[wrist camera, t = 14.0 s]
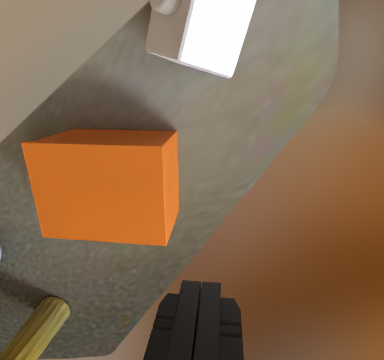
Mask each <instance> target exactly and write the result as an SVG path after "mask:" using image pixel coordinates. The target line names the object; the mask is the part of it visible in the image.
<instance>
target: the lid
mask: <svg viewBox="0 0 384 360" xmlns="http://www.w3.org/2000/svg"><path fill="white" fill-rule="evenodd" d="M21 145H22V149H23V153H24V158H25V162H26V166H27V171H28V175H29V179H30V183H31V188H32V192H33V196H34V201H35V205H36V209H37V214H38V218H39V222H40V227H41V231H42V235H43V237H47V238H61V239H75V240H89V241H103V242H117V243H131V244H145V245H159V246H166V245H167V217H166V192H165V168H164V145H151V144H113V143H75V142H38V141H25V142H21Z"/></svg>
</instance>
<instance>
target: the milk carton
mask: <svg viewBox="0 0 384 360" xmlns="http://www.w3.org/2000/svg"><path fill="white" fill-rule="evenodd" d="M149 1H150V5H151V7H152V11H151V17H150V22H149V27H148V33H147V38H146V44H145V51H146V52H149V53H151V54H154V55H157V56H159V57H162V58H165V59H167V60H170V61H172V62H175V63H178V64H181V65H184V66H188V67H191V68H194V69H198V70H201V71H204V72H208V73H211V74H214V75H218V76H221V77H224V78H228V79H229V78H231V77H232V75H233V73H234V70H235V67H236V64H237V60H238V57H239V54H240V51H241V48H242V44H243V41H244V38H245V35H246V32H247V28H248V25H249V22H250V19H251V16H252V13H253V9H254V6H255V3H256V0H149Z"/></svg>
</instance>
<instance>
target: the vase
mask: <svg viewBox="0 0 384 360" xmlns="http://www.w3.org/2000/svg"><path fill="white" fill-rule="evenodd" d="M69 315H70V309H69V306H68V305H67V304H66V303H65V302H64V301H63V300H61V299H60V298H57V297H46V298H44V299H43V300H42V301H41V303H40V304H39V306H38V307H37V308H36V310H35V311H34V312H33V314H32V315H31V316H30V317H29V319H28V320H27V321H26V323H25V324H24V325H23V326H22V328H21V329H20V330H19V331H18V333H17V334H16V335H15V337H14V338H13V339H12V340H11V342H10V343H9V344H8V345H7V347H6V348H5V349H4V350H3V352H2V353H1V354H0V360H37V359H38V358H39V356H40V355H41V354H42V352H43V351H44V350H45V348H46V347H47V345H48V344H49V342H50V341H51V339H52V338H53V337H54V335H55V334H56V333H57V331H58V330H59V329H60V327H61V326H62V325H63V323H64V321H65V320H66V319H67V318H68V317H69Z"/></svg>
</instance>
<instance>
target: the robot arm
mask: <svg viewBox="0 0 384 360" xmlns="http://www.w3.org/2000/svg"><path fill="white" fill-rule="evenodd" d="M220 286H221V284H220V283H215V282H214V283H213V282H202V287H201V282H198V281H187V280H183V281H182V285H181V289H180V293H179V294H171V293H168V294H167V295H166V296H165V298H164V299H163V300H162V301H161V303H160V304H159V307H158V311H157V315H156V319H155V321H154V324H153V329H152V332H151V335H150V338H149V342H148V345H147V349H146V352H145V355H144V359H143V360H244V356H243V341H242V327H241V312H240V309H239V307H238V305H237V303H236V301H235V299H233V298H220V289H221V287H220Z"/></svg>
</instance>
